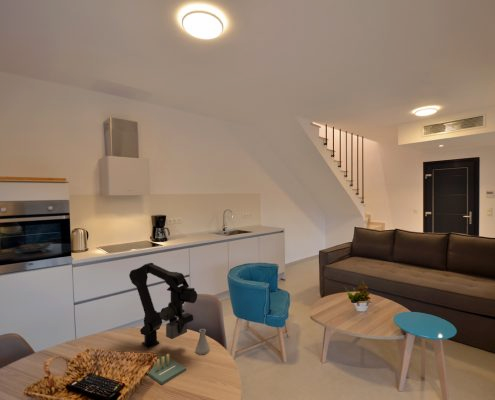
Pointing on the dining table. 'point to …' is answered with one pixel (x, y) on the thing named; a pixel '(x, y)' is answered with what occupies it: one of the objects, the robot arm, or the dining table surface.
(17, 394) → the dining table surface
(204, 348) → the grey flared piece
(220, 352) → the dining table surface
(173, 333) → the block
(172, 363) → the header board
